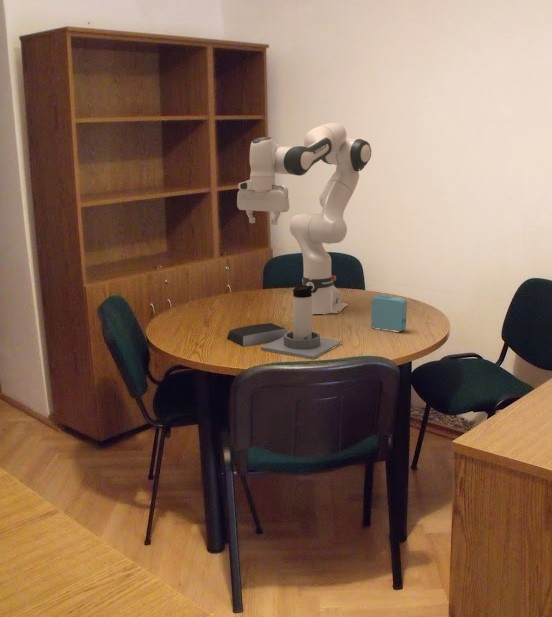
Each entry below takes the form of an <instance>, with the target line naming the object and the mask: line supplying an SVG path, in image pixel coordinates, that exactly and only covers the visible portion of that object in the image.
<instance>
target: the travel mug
mask: <svg viewBox="0 0 552 617" xmlns="http://www.w3.org/2000/svg"><path fill="white" fill-rule="evenodd" d="M312 289H313V286H303V285H301V286H296V287H294V288H293V289H292V293H293V294H292V331H293V339H296V340H308V339H312V332H313V331H312V327H313V324H312V323H313V319H312V318H313V314H312V298H311V297H312V294H311V293H312Z"/></svg>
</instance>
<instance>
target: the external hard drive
mask: <svg viewBox="0 0 552 617" xmlns="http://www.w3.org/2000/svg"><path fill="white" fill-rule="evenodd" d="M288 332H289V331H288V329H287V328H285V327H282V326H280V325H277V324H276V323H275V324H274V323H272V322H267V323H258V324H257V323H256V324H253V325H251V324H250V325H246V326H241V327H238V328H233V329H231V330H230V331H228V334H227V336H226V340H227V339H228V340H227V341H230V340H231V341H230V342H232V341H233V342H232V343H234V342H235V344H236V343H237V344H236V345H238V344H239V345H238V346H241V347H243V348H246V347H253V346H258V345H266V344H269V343H271V342H273V341H275V340H277V339H280V338H282V337H284V334H285V333H288Z"/></svg>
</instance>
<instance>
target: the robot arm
mask: <svg viewBox="0 0 552 617" xmlns="http://www.w3.org/2000/svg"><path fill="white" fill-rule="evenodd" d="M347 136H348V135H347V131H346V129H345V126H343V124H341V123H339V122H328V123H324V124H321V125H318V126H316V127H314V128H312V129H310V130H309V131H308V132H307V133H305V136H304V139H303V144H304V146H303V145H300V146H298V145H297V146H281V145H280V144H277V143H276V142H275V141H274V139H273V138H272V137H270V136H262V137H257V138H254V139H253V140H252V141H251V143H250V147H249V166H250V173H249V179H247V180H246V181H242V182H240V183H238V184H237V188H238V191H237V197H236V207H237V208H238V210H239V211H245V213H246V215H247V217H248V220H249V221H248V222H249V224H255V223H256V217H254V215H253V212H254V211H255V212H271V213H273V215H274V217H273V219H271V221H270V222H271V225H273V226H274V225H278V220H279V218H280V216H281V213H287V212H288V211H289V210H290V199H289V189H288V188H287V187H286V186H285V185H283V184H281V185H278V184H276V174H277V175H278V174H280V175H294V176H303V175H306V173H308V171H309V170H310V169H311V168H312V167H313V165H315V164H317V163H318V162H319V161H320V160H321V162H323V163H325V164H327V165H333V166H336V168H335V171H334V173H333V174H332V175H331V177H329V180H328V181H327V183H326V184H325V187H324V188H323V190H322V192H321V194H320V196H319V204H320V206H321V208H322V210H321V212H320V213H309V212H304V213H298V214H295V215H294V216H293V217H292V218H291V220H290V223H289V231H290V234H291V235H292V236H293V238H294V239H295V240H296V241H297V243H298V246H299V248H300V251H301V255H302V263H303V265H302V266H303V276H302V279H301V282H302V285H301V286H313V289H312V293H311V294H312V297H311V298H312V315H314V314H323V315H326V314H325V313H335V312H338V311H340V310H341V309H342V308H343V307H344V306H346V305H347V306H348V304H347V303H346V302H343V301H342V293H341V291H340V290H339V289H338V288H337V287H336V286H335V285H334V282H335V281H336V280H337V276H336V275H332V257H331V255H330V254H329V253H328V252H327V251H326V250H325V248H324V246H323V244H328V245H329V244H340V243H341V242H342V241H344V240H345V238H346V235H347V232H348V231H347V230H348V226H347V223H346V221H345V220H344V213H345V209H346V207H347V205H348V203H349V202H350V200H351V197H352V196H353V195H354V192H355V190H356V188H357V185H358V182H359V179H360V174H359V173H360V171H363V170H364V168H365V167H366V165H368V163H369V161H370V159H371V157H372V148H371V145H370V143H369V142H368V141H367V140H364V139H362V138H353V137H347ZM341 302H343V303H341ZM340 312H341V311H340Z"/></svg>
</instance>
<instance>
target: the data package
mask: <svg viewBox="0 0 552 617" xmlns="http://www.w3.org/2000/svg"><path fill="white" fill-rule="evenodd" d="M407 304H408V302H407V300H406V299H405V298H403V297H397V296H389V295H377V296H374V297H373V298H372V299H371V310H370V311H371V319H370V326H371V328H372V327H374V328H380V329H388V330H396V331H401V332H403V331H404V330H406V329H407V314H408V312H407V310H408V308H407V307H408V305H407ZM403 329H404V330H403ZM402 330H403V331H402Z"/></svg>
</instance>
